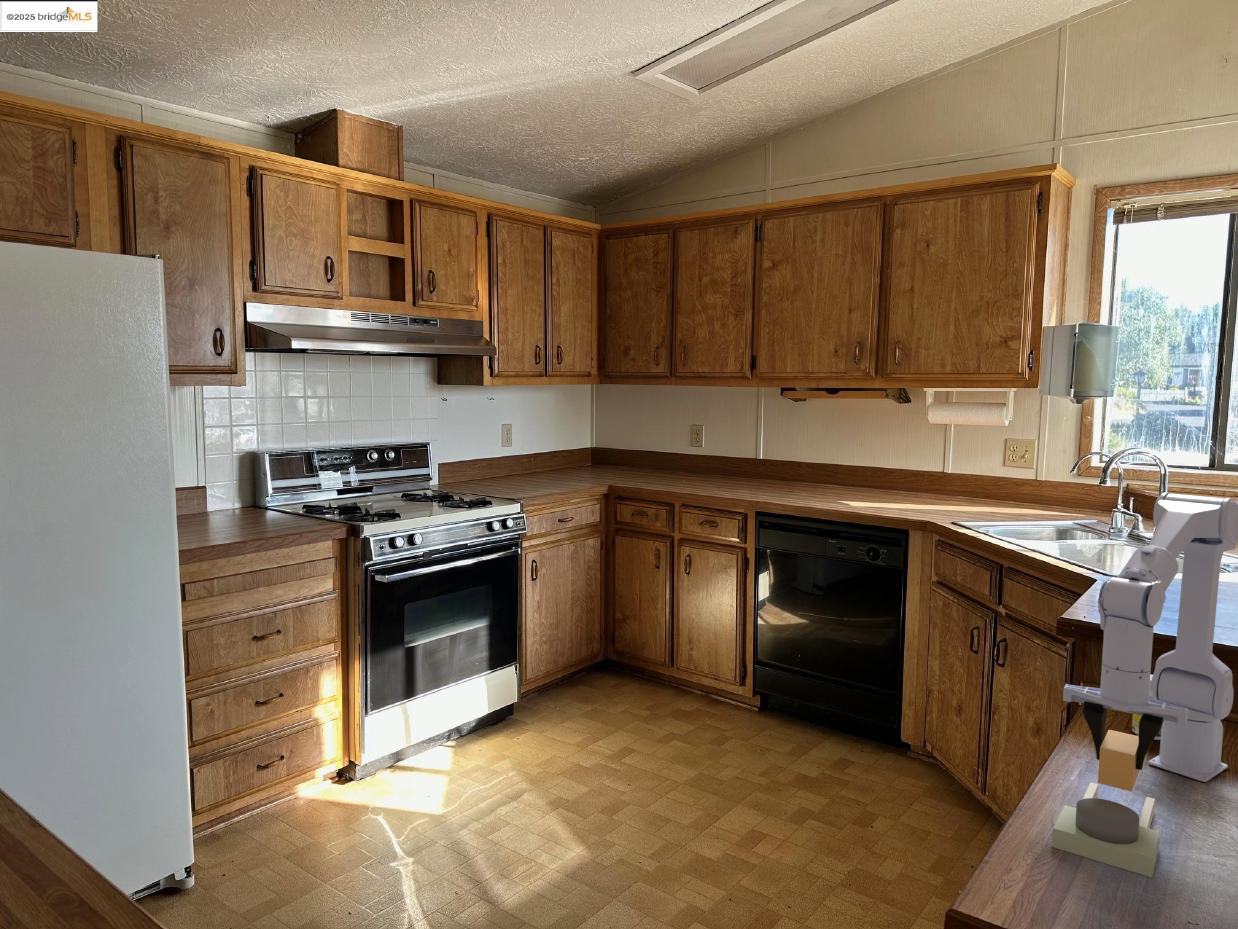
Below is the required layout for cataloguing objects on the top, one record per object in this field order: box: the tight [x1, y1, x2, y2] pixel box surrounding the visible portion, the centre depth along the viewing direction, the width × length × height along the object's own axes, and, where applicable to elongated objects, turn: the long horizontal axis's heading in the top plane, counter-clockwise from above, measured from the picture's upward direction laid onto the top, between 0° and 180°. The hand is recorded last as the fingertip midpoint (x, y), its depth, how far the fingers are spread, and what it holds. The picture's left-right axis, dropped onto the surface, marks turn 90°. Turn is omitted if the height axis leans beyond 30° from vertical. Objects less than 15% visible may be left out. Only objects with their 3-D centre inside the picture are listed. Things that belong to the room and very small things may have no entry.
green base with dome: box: [1051, 781, 1161, 878], centre depth 112 cm, size 20×11×5 cm, turn 142°
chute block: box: [1097, 729, 1140, 792], centre depth 115 cm, size 8×4×5 cm, turn 142°
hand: (1119, 762), depth 115 cm, fingers closed on chute block, 4 cm apart
